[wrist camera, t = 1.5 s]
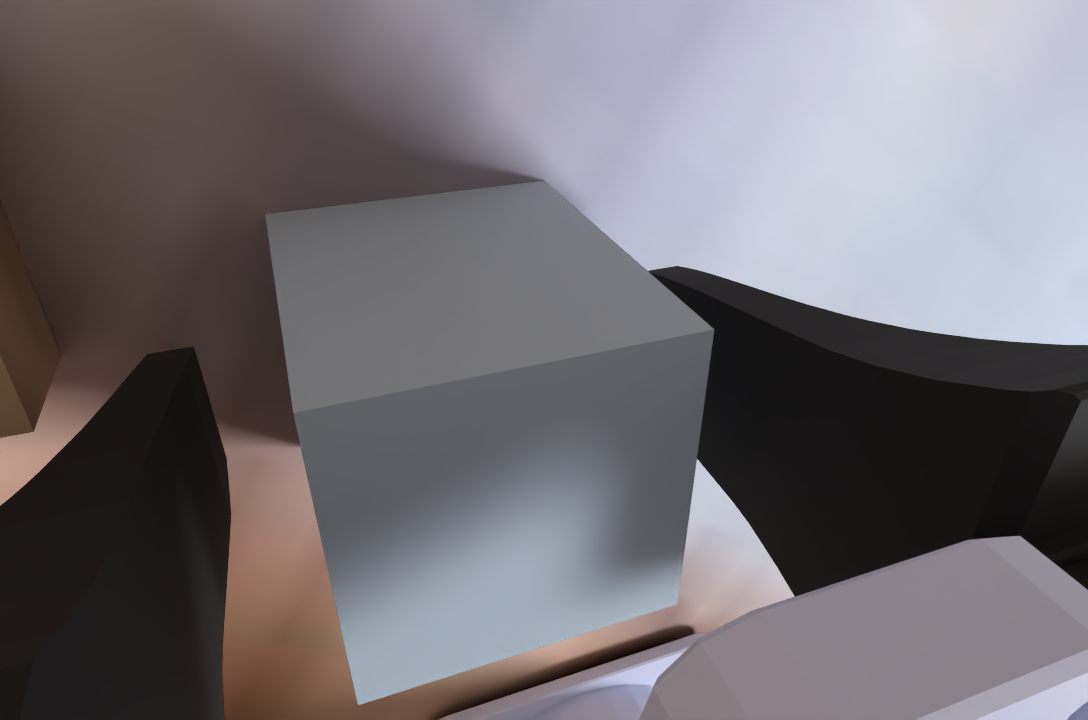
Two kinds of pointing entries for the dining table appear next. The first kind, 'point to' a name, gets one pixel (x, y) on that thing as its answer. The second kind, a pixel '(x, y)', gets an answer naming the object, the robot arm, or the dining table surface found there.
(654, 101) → the dining table surface
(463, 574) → the slate block
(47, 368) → the brown block
